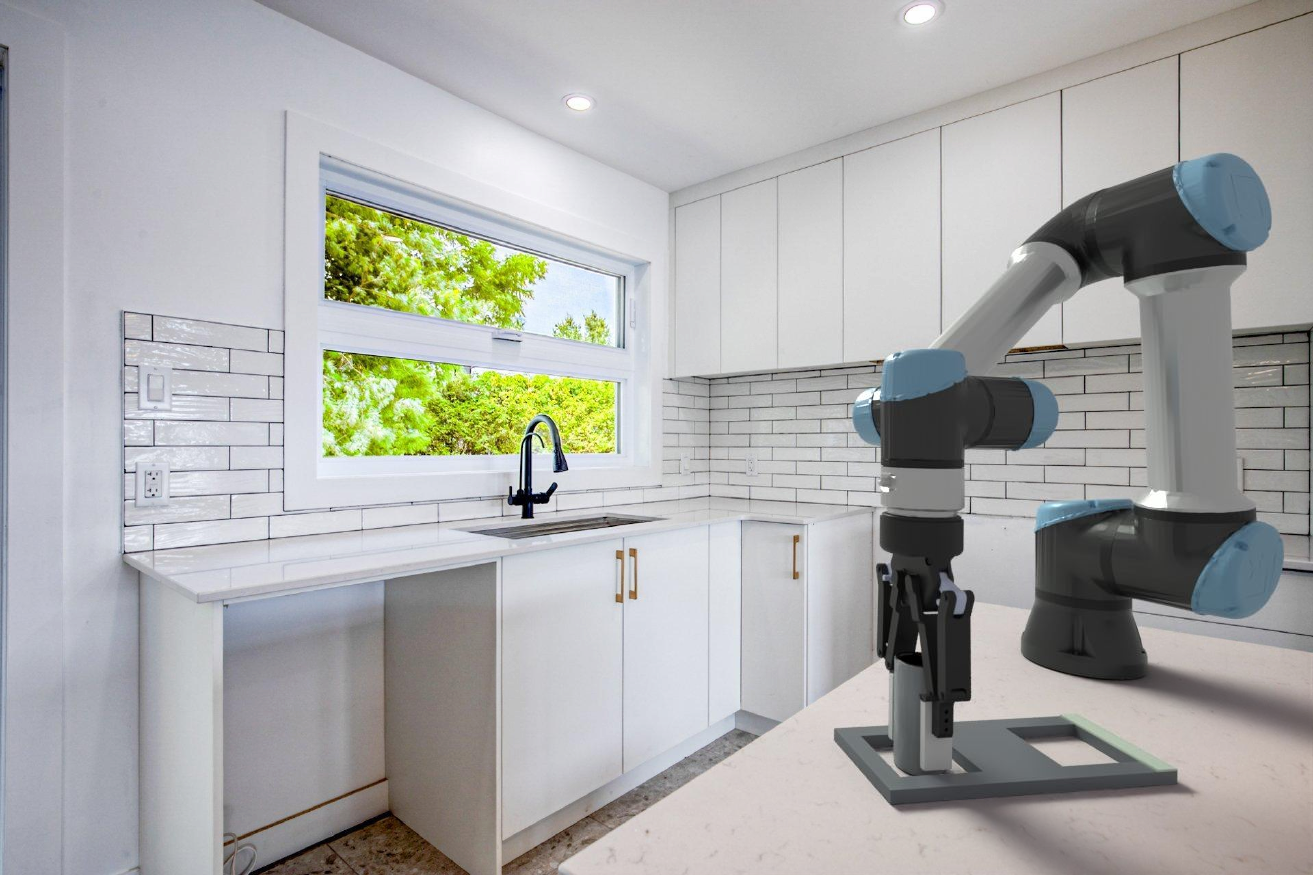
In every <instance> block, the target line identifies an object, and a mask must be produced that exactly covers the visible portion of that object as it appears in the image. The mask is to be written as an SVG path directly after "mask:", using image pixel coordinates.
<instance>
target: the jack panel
mask: <svg viewBox="0 0 1313 875" xmlns="http://www.w3.org/2000/svg"><path fill="white" fill-rule="evenodd" d="M953 723H954V724H953V736H952V761H954V762H955V763H956V764H958V765H959V766H960V767H961V768H963V769H964V771H966V772H957V773H955V772H954V773H941V774H937V775H922V776H917V775H911V776H909V775H908V776H900V775H899V774H898V773H897V772H896V770H894V768H893V767H892V766H890V765H889V763H888V762H886V760H885V759H884V758H883V757H882V756H881V755H880V754H879V753H878V752H877V751H876V750H875V749H874V748H878V747H879V748H880V747H882V748H883V747H894V740H891V739H890V738H889V737H888V724H886V725H885V724H884V725H869V726H852V727H834V728H833V740H834V742H835V743H836V744H837V745H838V746H839V747H840V749H842V751H843V752H844V753H845V754H846V755H847V756H848V758H849V759H850V760H851V761H852V762H853V764H854V765H855V766H856V767H857V768H858V769H859V770H860V772H861V773H862V774H863V775H864V776H865V777H866V778H867V780H868V781H869V782H870V783H871V784H872V785H873V787H875V789H876V790H877V791H878V792H879V793H880V795H882V796H883V798H884V799H885V800H886V801H887V802H888V804H889V805H897V804H898V805H899V804H900V805H901V804H913V803H925V802H926V803H927V802H939V801H942V802H943V801H954V800H969V799H970V800H971V799H983V798H997V797H1010V796H1013V797H1014V796H1025V795H1026V796H1027V795H1038V794H1039V795H1040V794H1053V793H1069V792H1080V791H1082V792H1083V791H1084V792H1085V791H1094V790H1107V789H1109V790H1110V789H1124V788H1136V787H1137V788H1138V787H1151V786H1152V787H1153V786H1154V787H1155V786H1166V785H1168V786H1169V785H1177V784H1178V774H1179V773H1178V772H1179V771H1178V770H1179V768H1177V767H1176V766H1174V765H1172V764H1170V763H1168V762H1167V761H1164V760H1163V759H1161V758H1159V757H1157V756H1155V755H1154V754H1152V753H1149V752H1148V751H1146V750H1144V749H1142V748H1141V747H1139V746H1138V745H1135V744H1133V743H1131V742H1130V741H1128V740H1126V739H1125V738H1122V737H1121V736H1119V735H1118V734H1117V735H1116V734H1115V733H1114V732H1111V731H1110V730H1108V729H1106V728H1104V727H1103V726H1100V725H1098V724H1097V723H1095V722H1094V721H1091V720H1090V719H1088V718H1086V717H1084V716H1082V715H1081V714H1078V713H1060V714H1059V715H1056V716H1055V715H1054V716H1037V717H1018V718H1017V717H1016V718H998V719H996V718H995V719H981V720H980V719H979V720H964V721H961V720H960V721H953ZM1066 736H1067V737H1069V736H1074V737H1076V738H1078V739H1080V740H1081V741H1083V742H1084V743H1087V744H1088V745H1089V746H1091V747H1093V748H1095V749H1096V750H1098V751H1100V752H1101V753H1102V754H1105V755H1107V756H1108V757H1110V758H1111V759H1113V760H1115V761H1117V762H1108V763H1093V764H1080V765H1079V764H1075V765H1062V764H1060V763H1058V762H1057V761H1055V760H1054V759H1052V758H1051V757H1050V756H1048V755H1046V754H1045V753H1043V752H1042V751H1040V750H1039V749H1038V748H1036V747H1034V746H1033V745H1031V744H1030V743H1028V742H1027V741H1026V740H1024V739H1031V738H1032V739H1034V738H1046V737H1047V738H1050V737H1051V738H1052V737H1066Z"/></svg>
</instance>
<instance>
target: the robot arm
mask: <svg viewBox="0 0 1313 875" xmlns="http://www.w3.org/2000/svg"><path fill="white" fill-rule="evenodd" d="M1271 207H1272V206H1271V203H1270V198H1269V195H1268V192H1267V190H1266V187H1265V186H1264V183H1263V181H1262V179H1261V178H1260V176H1259V175H1258V173H1257V172H1256V170H1255V169H1254V167H1252V165H1251V164H1249V163H1248V162H1247V161H1246V160H1245V159H1243V158H1242V157H1240V156H1238V155H1236V154H1233V153H1230V152H1229V153H1228V152H1216V153H1212V154H1209V155H1208V154H1207V155H1206V156H1205V155H1204V156H1202V157H1197V158H1194V159H1190V160H1182V161H1179V162H1177V163H1175V164H1174V165H1171V166H1168V167H1165V168H1162V169H1159V170H1157V171H1154V172H1150V173H1148V174H1145V175H1142V176H1140V177H1136V178H1134V179H1131V180H1128V181H1125V182H1122V183H1119V184H1116V185H1113V186H1110V187H1106V188H1102V189H1099V190H1096V191H1094V192H1090V193H1089V194H1087V195H1085V196H1083V197H1081V198H1079V199H1077V200H1076V201H1074V202H1072V203H1071V204H1070V205H1068V206H1066V207H1064V209H1062V210H1061V211H1060V212H1058V213H1057V214H1055V215H1054V216H1053V217H1051V218H1050V219H1049V220H1048V221H1046V222H1045V223H1044V224H1043V225H1041V226H1040V227H1039V228H1038V229H1037V230H1036V231H1034V232H1033V233H1032V234H1031V235H1030V236H1029V237H1028V238H1026V239H1025V240H1024V241H1023V243H1021V245H1019V246H1018V247H1017V249H1015V250H1014V251H1013V252H1012V254H1011V256H1010V257H1009V259H1008V260H1007V261H1008V262H1007V264H1006V270H1005V271H1003V273H1002V274H1001V275H999V277H998V278H997V279H995V281H994V282H993V283H992V284H991V285H989V287H988V288H986V290H985V291H984V292H983V293H981V295H979V297H977V299H976V300H975V301H973V303H971V304H970V305H969V306H968V307H967V309H965V310H964V312H962V313H961V314H960V315H959V316H958V317H957V318H956V319H955V320H954V321H953V322H952V323H951V324H950V325H949V326H948V327H947V328H946V329H945V330H944V331H943V332H942V333H941V334H940V335H939V336H938V337H937V338H936V339H935V340H934V341H933V342H932V343H931V344H930V345H929V346H928V347H927V348H919V349H918V348H917V349H908V350H901V351H897V352H896V351H895V352H893V353H891V354H889V355H888V356H887V357H886V358H885V359H884V361H883V363H882V371H881V372H882V373H881V381H880V385H877V386H875V387H871V388H868V389H866V390H864V391H863V392H861V393H860V394H859V395H858V396H857V398H856V400H855V402H854V404H853V407H852V414H851V415H852V424H853V427H854V430H855V432H856V434H857V435H858V436H859V438H860V439H861V440H862V441H864V442H865V443H867V444H869V445H871V446H876V447H880V477H878V479H877V484H878V486H879V487H880V505H881V506H882V507H883V508H886V511H885V510H884V511H883V512H881V514H880V515H879V546H880V548H881V550H883V551H885V552H887V553H888V554H892V555H891V556H892V557H891V560H890V562H878V563H876V566H875V572H876V579H877V620H876V621H877V622H876V624H877V626H876V656H877V657H878V658H879V659H883V660H884V665H885V668H886V670H887V671H888V724H887V725H888V737H889V738H890V739H891V740H894V659H895V655H896V654H898V653H900V652H908V651H913V652H917V651H916V649H917V646H918V645H917V644H918V639H919V644H920V652H921V653H922V661H923V669H924V677H925V685H926V693H927V694H919V697H920V699H921V718H920V767H921V768H922V769H923V770H924V771H931V770H952V769H953V759H952V736H953V724H954V723H953V722H955V721H954V716H955V714H954V713H955V710H954V707H955V703H961V702H962V703H963V702H966V703H967V702H970V701H972V635H971V634H972V633H971V632H972V630H971V629H972V624H971V623H972V622H971V617H972V613H973V609H974V608H973V607H974V605H975V598H976V597H975V594H974V591H972V590H971V589H960V587H958V585H957V584H955V576H954V572H953V568H952V560H953V559H954V558H955V557H958V556H959V557H960V555H962V554H963V552H964V548H965V546H964V545H965V543H964V542H965V541H964V540H965V533H964V532H965V520H964V518H963V516H961V515H960V514H958V512H960V511H962V510H964V509H965V507H966V506H965V505H966V504H965V501H966V500H965V498H966V494H965V492H966V491H965V490H966V489H965V488H966V487H965V486H966V484H965V482H966V481H965V479H966V478H965V476H966V475H965V458H966V456H965V455H966V454H965V453H966V451H965V450H977V451H978V450H980V451H981V450H982V451H985V450H986V451H1007V452H1008V451H1011V452H1015V453H1016V452H1018V451H1020V450H1029V449H1034V448H1037V447H1039V446H1042V445H1043V444H1044V443H1046V442H1047V441H1048V440H1049V439H1050V438H1051V437H1052V435H1053V434H1054V432H1055V430H1056V429H1057V426H1058V422H1059V415H1060V411H1059V405H1058V400H1057V399H1056V396H1055V394H1054V392H1052V390H1051V389H1050V388H1049V387H1048V386H1047V385H1045V384H1044V383H1042V382H1040V381H1038V380H1034V379H1028V378H1023V377H1022V378H1021V376H1016V375H1015V376H1011V377H1009V376H1007V377H1006V376H987V375H988V374H989V373H990V372H991V371H992V370H993V369H994V368H995V367H996V366H997V365H998V364H999V363H1000V362H1001V361H1002V359H1003V358H1004V357H1005V356H1006V355H1007V354H1008V353H1009V352H1010V351H1011V350H1012V349H1014V347H1015V346H1016V345H1017V344H1018V343H1019V342H1020V340H1022V339H1023V337H1025V335H1026V334H1027V333H1028V332H1029V331H1030V330H1032V328H1033V327H1034V326H1035V325H1036V324H1037V323H1038V322H1039V321H1040V319H1042V318H1043V317H1044V315H1046V313H1047V312H1048V311H1049V310H1050V309H1051V308H1052V307H1053V306H1054V305H1059V304H1063V303H1065V302H1067V301H1069V300H1070V299H1071V298H1072V297H1074V295H1076V294H1077V292H1078V291H1079V290H1081V289H1083V288H1085V287H1087V286H1089V285H1092V284H1095V283H1098V282H1099V283H1100V282H1102V281H1105V280H1109V279H1113V278H1120V277H1121V278H1122V277H1123V288H1124V289H1125V290H1127V291H1128V292H1130V293H1131V294H1133V295H1134V296H1136V297H1137V299H1138V300H1139V301H1138V302H1139V303H1138V304H1139V322H1140V323H1139V324H1140V345H1141V346H1140V348H1141V368H1142V369H1141V370H1142V372H1141V373H1142V388H1143V390H1142V392H1143V414H1144V415H1143V416H1144V433H1145V435H1144V438H1145V456H1146V457H1145V458H1146V479H1147V481H1146V482H1147V487H1146V489H1145V490H1144V491H1143V492H1142V493H1140V494H1139V495H1138V496H1137V497H1136V498H1135V499H1133V500H1132V499H1131V498H1103V499H1100V498H1099V499H1080V500H1079V499H1077V500H1074V499H1073V500H1057V501H1046V502H1043V503H1042V504H1040V505H1039V507H1038V508H1037V511H1036V520H1035V528H1034V530H1033V532H1034V542H1035V543H1034V549H1035V550H1034V569H1035V570H1034V602H1033V605H1032V608H1031V610H1030V612H1029V613H1030V614H1029V616H1028V619H1027V622H1026V624H1025V628H1024V631H1023V632H1022V633H1021V636H1020V653H1021V654H1022V656H1024V657H1025V658H1026V659H1028V660H1029V661H1031V662H1033V663H1035V664H1037V665H1040V666H1043V667H1045V668H1047V669H1052V670H1056V671H1058V672H1062V673H1067V674H1072V675H1077V676H1080V677H1089V678H1096V679H1104V680H1105V679H1107V680H1132V679H1133V680H1134V679H1139V678H1142V677H1145V676H1147V674H1148V672H1149V669H1148V668H1149V661H1148V660H1149V659H1148V658H1149V657H1148V653H1147V650H1146V649H1145V648H1144V647H1143V642H1142V637H1141V635H1140V631H1139V629H1138V625H1137V623H1136V620H1135V617H1134V614H1133V599H1134V600H1137V601H1142V602H1147V603H1151V604H1156V605H1161V606H1165V607H1170V608H1174V609H1179V610H1183V611H1188V612H1192V613H1194V615H1195V614H1196V615H1200V616H1202V617H1203V616H1211V617H1212V616H1213V617H1219V618H1224V619H1230V620H1242V619H1246V618H1249V617H1252V616H1253V615H1255V614H1256V613H1258V612H1259V611H1261V610H1262V609H1263V608H1264V607H1265V606H1266V604H1267V603H1268V602H1269V601H1270V599H1271V597H1272V596H1273V595H1274V592H1275V591H1276V589H1277V587H1278V584H1279V581H1280V578H1281V575H1282V570H1283V567H1284V559H1285V558H1284V557H1285V546H1284V542H1283V539H1282V538H1281V533H1280V531H1279V529H1277V528H1276V527H1275V526H1274V525H1271V524H1268V523H1267V522H1265V521H1261V520H1257V518H1258V517H1257V504H1256V502H1255V501H1253V500H1252V499H1251V498H1249V497H1248V496H1247V495H1246V494H1244V493H1242V492H1241V490H1240V489H1239V480H1238V478H1239V476H1238V454H1237V451H1238V450H1237V432H1236V431H1237V428H1236V403H1235V402H1236V401H1235V378H1234V376H1235V375H1234V374H1235V373H1234V355H1233V329H1232V328H1233V327H1232V322H1233V321H1232V304H1231V303H1232V302H1231V301H1232V298H1231V287H1232V285H1233V283H1234V282H1235V281H1237V280H1238V279H1239V278H1240V276H1242V275H1243V274H1244V273H1245V272H1246V271H1247V269H1248V266H1247V265H1248V262H1247V261H1248V259H1247V252H1253V251H1255V250H1256V249H1258V248H1260V247H1262V246H1263V245H1264V244H1265V243H1266V241H1267V240H1268V238H1269V236H1270V233H1269V232H1270V230H1271V229H1272V221H1273V219H1272V208H1271ZM933 612H934V613H933Z"/></svg>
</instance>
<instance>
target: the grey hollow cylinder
mask: <svg viewBox="0 0 1313 875" xmlns="http://www.w3.org/2000/svg"><path fill="white" fill-rule="evenodd" d="M919 694H927V693H926V685H925V677H924V669H923V661H922V653H921V651H915V652H913V651H908V652H900V653H898V654H896V655H895V659H894V746H893V763H894V764H895V766H896V767H897V768H899V770H902V772H903V771H904V772H905V773H908V774H910V775H912V776H922V775H937V774H943V773H944V770H931V771H924V770H923V769H922V768H921V767H920V718H921V699H920V697H919Z"/></svg>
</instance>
